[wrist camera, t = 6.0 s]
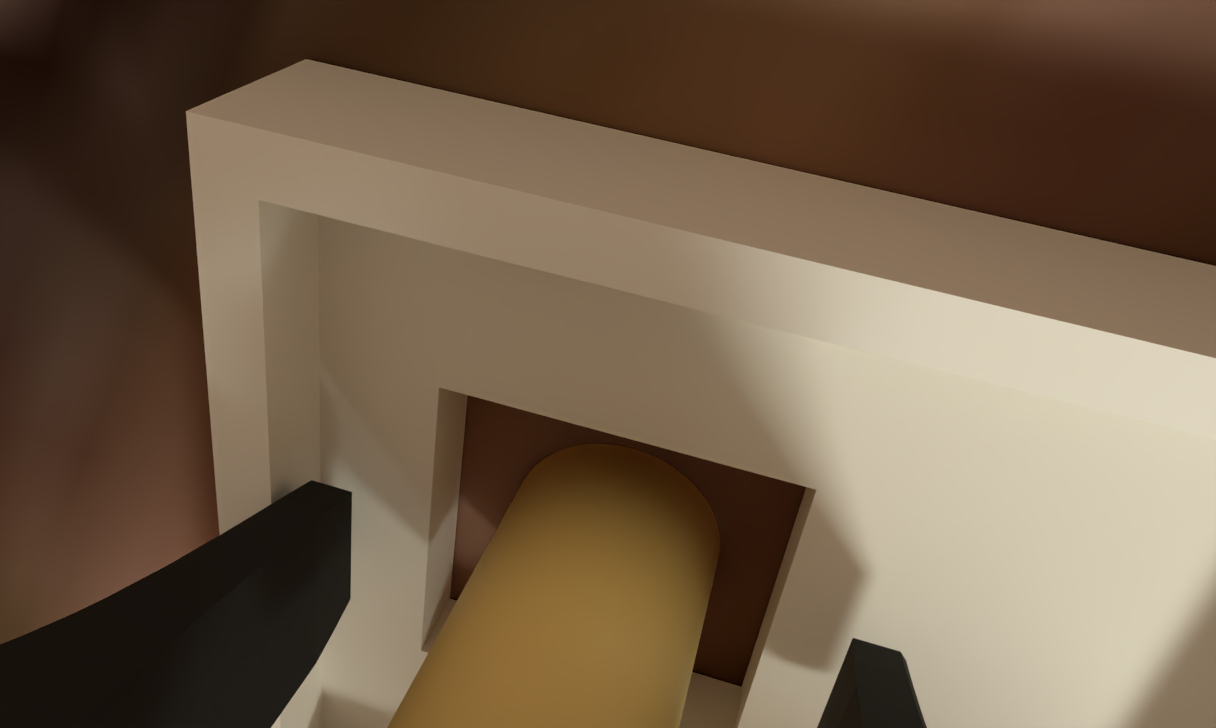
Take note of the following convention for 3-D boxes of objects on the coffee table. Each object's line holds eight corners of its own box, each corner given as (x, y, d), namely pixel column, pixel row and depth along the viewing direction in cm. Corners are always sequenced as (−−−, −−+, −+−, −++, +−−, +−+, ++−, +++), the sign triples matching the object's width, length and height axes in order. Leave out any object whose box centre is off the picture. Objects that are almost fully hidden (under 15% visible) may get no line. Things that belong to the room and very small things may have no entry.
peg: (742, 480, 14) (654, 867, 9) (695, 636, 16) (599, 1038, 10) (528, 418, 14) (326, 754, 9) (505, 577, 16) (324, 935, 11)
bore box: (1509, 333, 10) (1665, 466, 8) (1069, 937, 17) (1095, 1100, 15) (306, 59, 12) (186, 111, 10) (315, 693, 19) (240, 807, 17)
